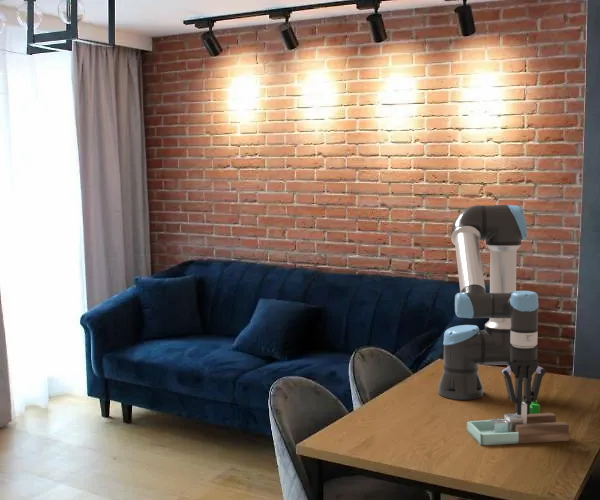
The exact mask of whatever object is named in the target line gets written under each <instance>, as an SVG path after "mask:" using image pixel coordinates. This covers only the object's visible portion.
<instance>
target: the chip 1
mask: <svg viewBox="0 0 600 500" xmlns="http://www.w3.org/2000/svg"><path fill="white" fill-rule="evenodd" d="M489 420H490V432H491V433H508V422H507V421H506V420H505V419H504V417H498V418H497V417H495V418H489Z"/></svg>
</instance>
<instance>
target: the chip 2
mask: <svg viewBox="0 0 600 500" xmlns="http://www.w3.org/2000/svg"><path fill="white" fill-rule="evenodd" d="M503 418H504V419H505V420H506V421H507V422H508V431H509V432H515V424H523V417H521V416H520V415H517V414H516V413H504V414H503Z"/></svg>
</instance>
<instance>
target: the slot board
mask: <svg viewBox="0 0 600 500" xmlns="http://www.w3.org/2000/svg"><path fill="white" fill-rule="evenodd" d="M569 427H570V425H569V424H568V423H567V422H565V421H558V422H557V415H556V414H554V413H553V412H544V413H539V414H527V424H515V432H518V433H519V439H518V443H517V444H531V443H532V444H534V443H552V442H569V441H570V432H569ZM508 432H509V431H508ZM509 433H510V432H509Z"/></svg>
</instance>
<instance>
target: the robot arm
mask: <svg viewBox="0 0 600 500" xmlns="http://www.w3.org/2000/svg"><path fill="white" fill-rule="evenodd" d="M527 227H528V226H527V221H526V216H525V212H524V210H523V208H522V206H519V205H513V204H497V205H496V204H492V205H491V204H490V205H489V204H485V205H480V204H478V205H476V204H475V205H472V206H469V207H467V208H465V209H463V210H462V211H461V212H460V213H459V214H458V215H457V216H456V217H455V219H454V220H453V223H452V225H451V229H450V240H451V243H452V245H454V246H455V256H456V263H457V265H456V267H457V273H458V274H457V275H458V282H459V292H457V293H456V294H455V296H454V312H455V316H456V317H457V318H460V319H461V318H462V319H489V320H488V321H487V322H486V323H485V324H484V329H481V330H480V328H479V326H478V325H474V324H463V325H462V324H461V325H455V326H452V327H449V328H447V329H446V330H445V331H444V334H443V343H442V344H443V372H442V375H441V378H440V380H439V383H438V387H437V390H438V392H437V393H438V395H440V396H441V397H444V398H447V399H450V400H460V401H461V400H462V401H464V400H465V401H467V400H476V399H479V398H482V397H483V396H484V387H483V383H482V381H481V380H482V379H481V378H480V375H479V365H495V366H498V365H501V366H502V365H503V366H504V365H505V366H507V367H506V368H501V369H500V373H501V375H502V376H503V378H504V382H505V387H506V392H507V396H508V399H509V401H510V402H512V403H514V405H515V408H514V409H515V414H517V415H520V416H521V417H523V424H527V414H529V413H530V405H531V404H532V403H531V402H533V401H534V402H535V401H536V400H537V401H538V398H539V397H538V396H539V392H540V388H541V383H542V380H543V377H544V375H545V374H546V372H547V370H546V368H543V367H542V366H539V363H538V346H537V345H538V337H539V336H538V335H539V334H538V332H539V331H538V328H539V327H538V325H539V324H538V323H539V319H538V318H539V307H540V305H539V304H540V303H539V294H538V293H537V292H535V291H531V290H517V253H518V252H517V251H518V250H519V248H521V247H522V241H525V240H526V239H527V234H528V228H527ZM480 241H485V246H486V247H487V248H488V249H489V253H490V254H489V255H490V257H489V258H490V259H489V292H486V284H485V277H484V271H483V263H482V258H481V257H482V256H481V251H480V244H479V243H480ZM511 372H512V373H511ZM512 374H513V375H514V380H515V381H514V382H515V383H514V386H513V380H512V377H511V375H512ZM533 375H534V376H533ZM532 381H533V382H532ZM523 401H524V402H523Z"/></svg>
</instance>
